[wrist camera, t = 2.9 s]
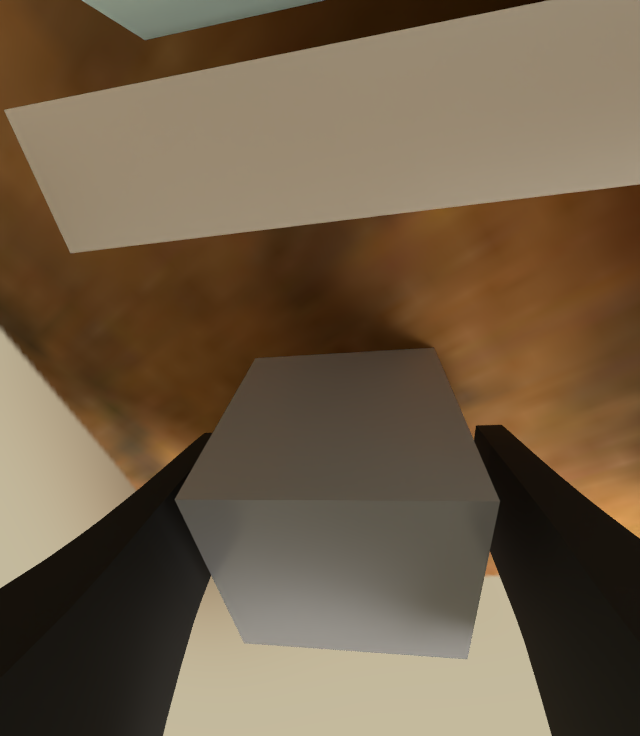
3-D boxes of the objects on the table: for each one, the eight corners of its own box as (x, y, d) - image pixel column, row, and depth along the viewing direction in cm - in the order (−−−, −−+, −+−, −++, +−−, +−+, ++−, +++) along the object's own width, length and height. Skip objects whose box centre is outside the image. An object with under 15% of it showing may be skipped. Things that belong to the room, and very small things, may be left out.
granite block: (427, 477, 12) (467, 659, 7) (284, 478, 12) (244, 643, 8) (433, 346, 9) (499, 501, 5) (255, 357, 10) (174, 499, 6)
